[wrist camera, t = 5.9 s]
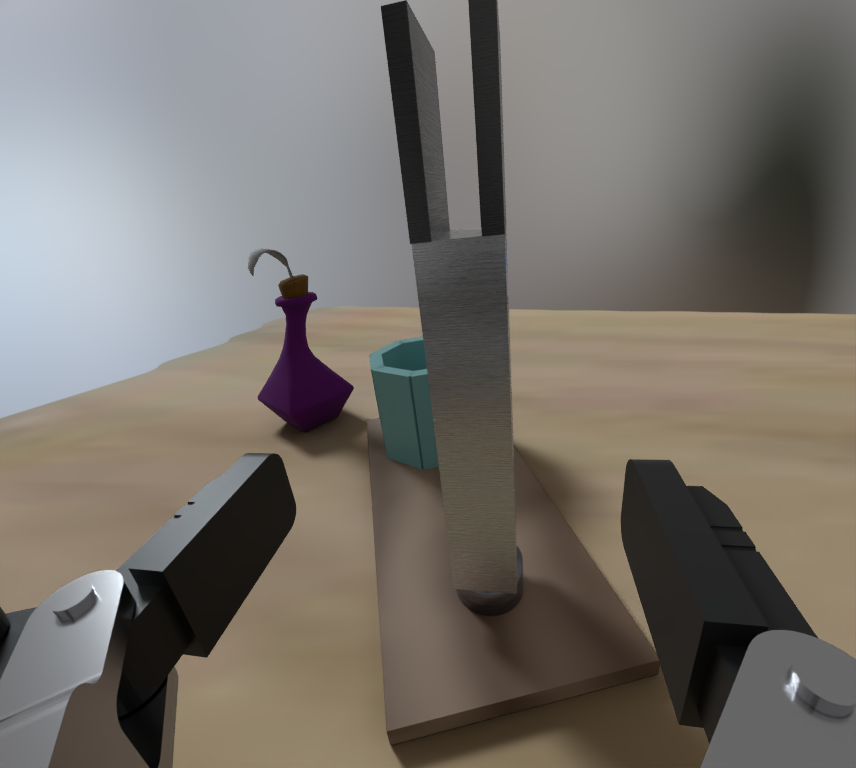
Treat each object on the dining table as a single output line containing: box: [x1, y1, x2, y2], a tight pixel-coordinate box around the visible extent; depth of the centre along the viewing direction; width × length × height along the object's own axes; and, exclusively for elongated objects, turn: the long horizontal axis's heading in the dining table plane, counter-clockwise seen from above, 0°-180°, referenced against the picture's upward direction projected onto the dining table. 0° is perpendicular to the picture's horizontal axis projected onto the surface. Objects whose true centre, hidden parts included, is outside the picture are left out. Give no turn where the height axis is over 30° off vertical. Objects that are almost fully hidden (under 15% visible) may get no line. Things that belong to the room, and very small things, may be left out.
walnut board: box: [367, 418, 660, 745], centre depth 30 cm, size 12×27×1 cm, turn 9°
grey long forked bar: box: [381, 0, 523, 616], centre depth 17 cm, size 4×4×24 cm
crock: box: [369, 337, 439, 469], centre depth 35 cm, size 9×9×8 cm
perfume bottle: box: [248, 249, 354, 432], centre depth 41 cm, size 8×8×18 cm
